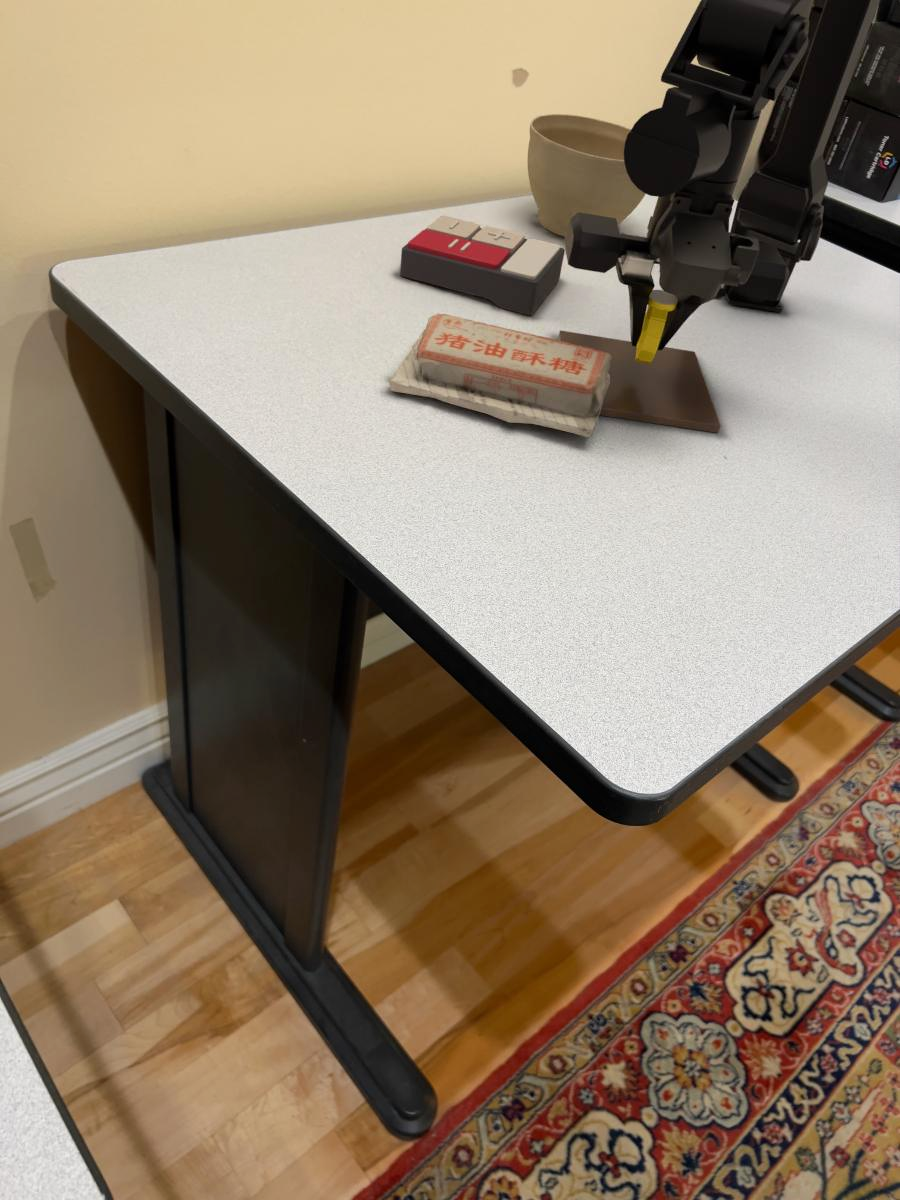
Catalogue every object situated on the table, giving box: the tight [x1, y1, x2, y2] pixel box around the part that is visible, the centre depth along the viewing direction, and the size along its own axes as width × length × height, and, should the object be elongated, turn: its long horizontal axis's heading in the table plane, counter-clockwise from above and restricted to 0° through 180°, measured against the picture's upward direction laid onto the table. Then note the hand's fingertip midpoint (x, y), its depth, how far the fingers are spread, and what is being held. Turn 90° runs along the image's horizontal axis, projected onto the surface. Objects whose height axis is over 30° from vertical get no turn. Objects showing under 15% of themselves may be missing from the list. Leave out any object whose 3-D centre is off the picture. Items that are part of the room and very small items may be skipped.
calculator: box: [399, 215, 566, 316], centre depth 95 cm, size 11×4×15 cm
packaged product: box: [389, 313, 612, 439], centre depth 77 cm, size 18×5×10 cm
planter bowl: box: [527, 113, 646, 238], centre depth 109 cm, size 16×16×11 cm
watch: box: [635, 289, 678, 364], centre depth 81 cm, size 6×3×6 cm, turn 169°
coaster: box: [557, 330, 722, 434], centre depth 84 cm, size 14×14×1 cm
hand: (645, 346), depth 82 cm, fingers closed on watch, 2 cm apart
